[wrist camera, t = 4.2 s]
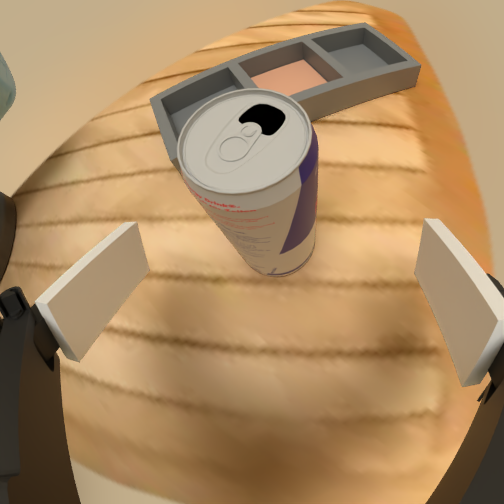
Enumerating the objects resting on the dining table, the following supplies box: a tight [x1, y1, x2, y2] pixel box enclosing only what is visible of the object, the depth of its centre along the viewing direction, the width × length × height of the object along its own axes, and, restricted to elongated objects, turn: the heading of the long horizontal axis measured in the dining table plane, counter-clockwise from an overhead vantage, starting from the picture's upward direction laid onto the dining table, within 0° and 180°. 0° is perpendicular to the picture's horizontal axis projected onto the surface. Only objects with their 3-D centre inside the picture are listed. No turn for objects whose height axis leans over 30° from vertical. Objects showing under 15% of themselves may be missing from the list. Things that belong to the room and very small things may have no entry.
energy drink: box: [177, 88, 318, 277], centre depth 15 cm, size 5×5×12 cm
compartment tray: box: [150, 23, 421, 175], centre depth 24 cm, size 25×9×3 cm, turn 114°
